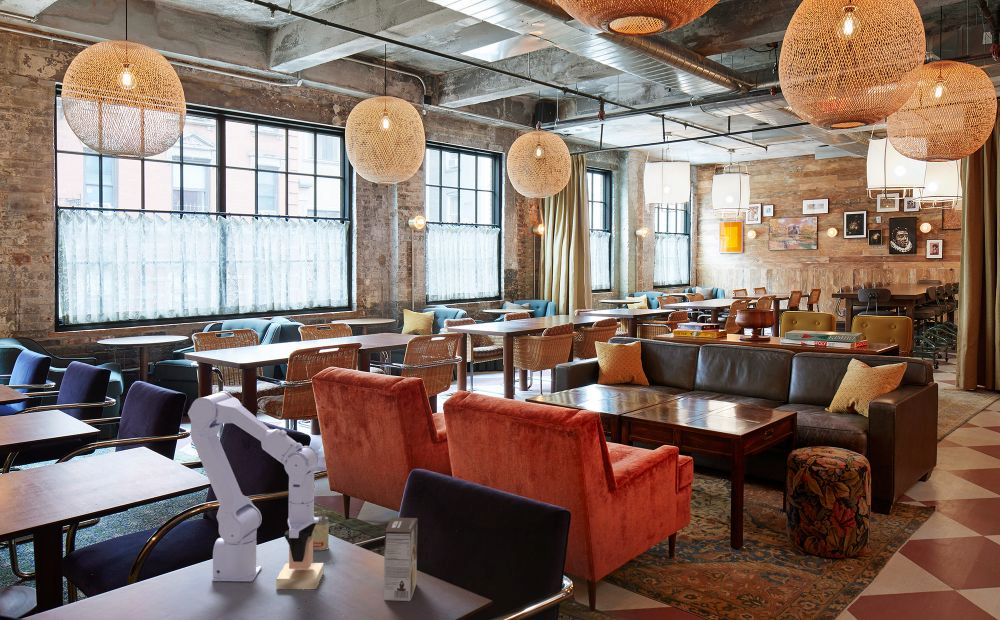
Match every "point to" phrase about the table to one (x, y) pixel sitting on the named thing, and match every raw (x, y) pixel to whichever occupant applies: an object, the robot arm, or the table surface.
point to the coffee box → (400, 559)
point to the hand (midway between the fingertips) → (300, 556)
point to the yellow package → (321, 531)
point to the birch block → (300, 577)
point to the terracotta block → (307, 557)
